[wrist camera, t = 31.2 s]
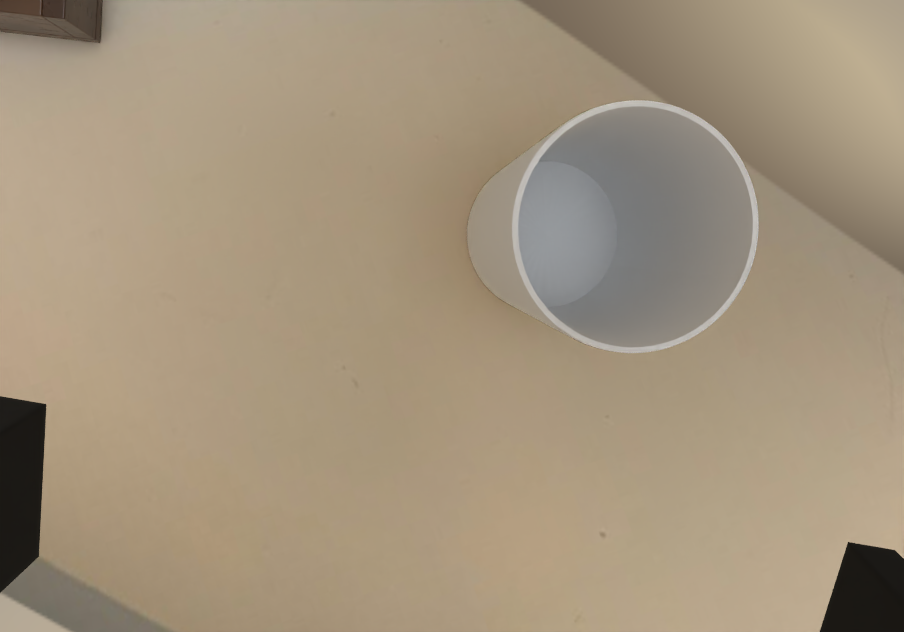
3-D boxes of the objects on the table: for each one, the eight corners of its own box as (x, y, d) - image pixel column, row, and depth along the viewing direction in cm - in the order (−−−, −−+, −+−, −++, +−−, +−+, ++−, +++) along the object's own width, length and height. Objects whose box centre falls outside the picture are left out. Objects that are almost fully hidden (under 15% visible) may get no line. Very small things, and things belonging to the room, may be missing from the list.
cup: (506, 130, 40) (576, 54, 24) (645, 196, 41) (802, 165, 25) (441, 273, 40) (468, 292, 25) (580, 336, 41) (693, 393, 25)
